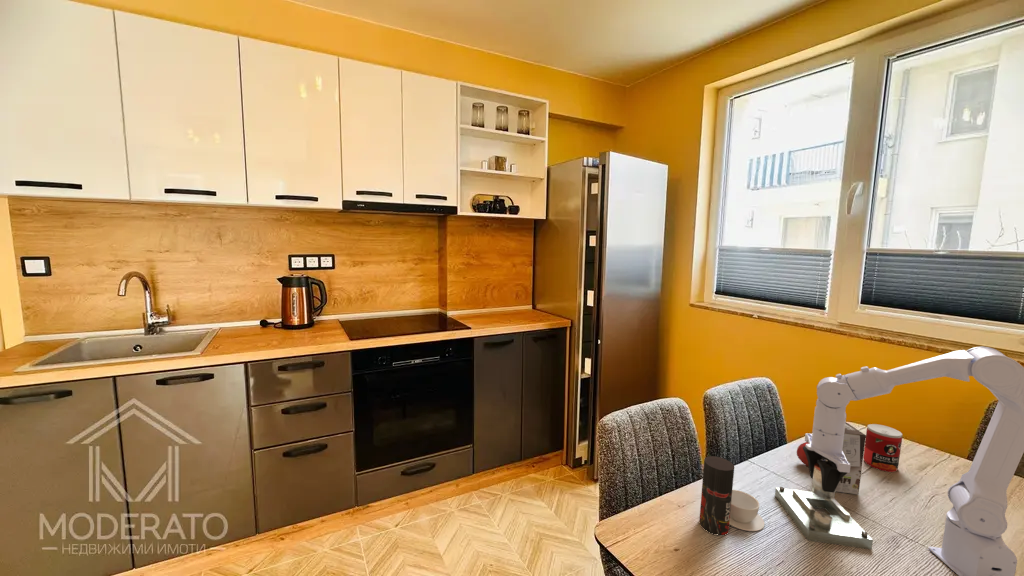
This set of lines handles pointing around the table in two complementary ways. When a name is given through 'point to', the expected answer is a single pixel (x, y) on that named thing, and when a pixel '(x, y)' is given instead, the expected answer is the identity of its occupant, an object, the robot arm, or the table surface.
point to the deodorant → (716, 495)
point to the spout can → (820, 483)
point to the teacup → (745, 512)
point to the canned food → (882, 447)
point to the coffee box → (852, 459)
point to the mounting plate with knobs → (822, 519)
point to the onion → (802, 454)
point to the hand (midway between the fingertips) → (822, 484)
